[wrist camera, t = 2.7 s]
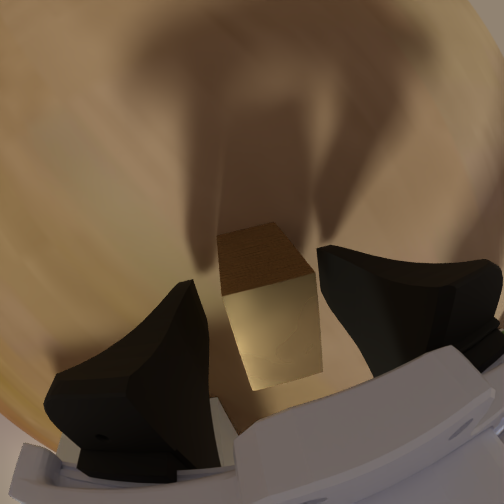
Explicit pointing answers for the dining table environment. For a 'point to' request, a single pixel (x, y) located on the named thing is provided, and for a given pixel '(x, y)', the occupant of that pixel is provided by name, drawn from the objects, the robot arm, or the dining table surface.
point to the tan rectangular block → (270, 305)
